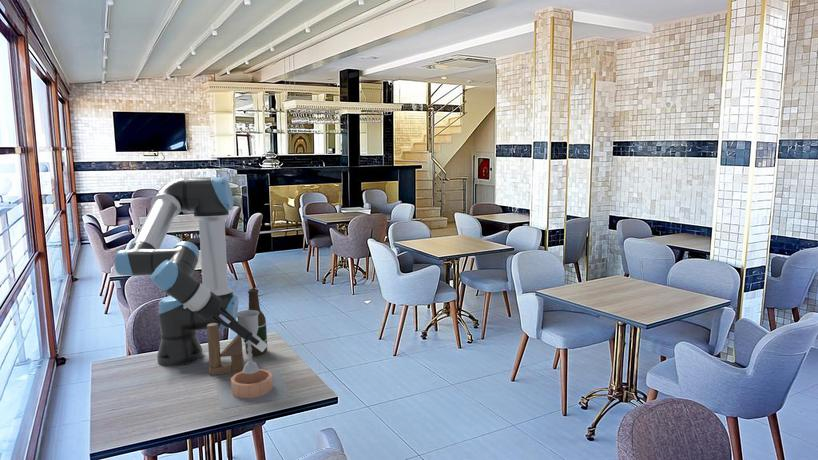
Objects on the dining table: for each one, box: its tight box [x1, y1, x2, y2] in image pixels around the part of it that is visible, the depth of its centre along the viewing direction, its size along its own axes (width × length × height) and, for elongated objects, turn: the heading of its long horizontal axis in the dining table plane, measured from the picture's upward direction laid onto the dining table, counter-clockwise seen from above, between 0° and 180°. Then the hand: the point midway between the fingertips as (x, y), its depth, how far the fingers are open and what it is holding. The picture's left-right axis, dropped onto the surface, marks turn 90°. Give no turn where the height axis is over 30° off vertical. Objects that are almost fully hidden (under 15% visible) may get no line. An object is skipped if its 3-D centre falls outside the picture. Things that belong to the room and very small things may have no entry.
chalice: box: [236, 309, 260, 374], centre depth 169 cm, size 7×7×18 cm
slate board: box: [215, 371, 292, 410], centre depth 172 cm, size 20×20×2 cm
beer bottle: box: [244, 288, 268, 357], centre depth 204 cm, size 8×8×24 cm
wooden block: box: [206, 323, 244, 376], centre depth 185 cm, size 4×11×18 cm, turn 104°
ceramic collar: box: [230, 368, 273, 398], centre depth 171 cm, size 12×12×4 cm
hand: (261, 344), depth 171 cm, fingers closed on chalice, 6 cm apart
